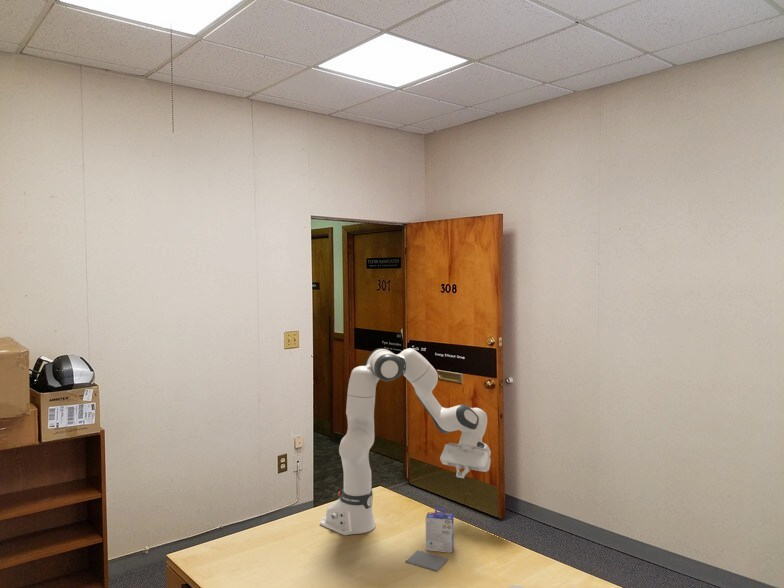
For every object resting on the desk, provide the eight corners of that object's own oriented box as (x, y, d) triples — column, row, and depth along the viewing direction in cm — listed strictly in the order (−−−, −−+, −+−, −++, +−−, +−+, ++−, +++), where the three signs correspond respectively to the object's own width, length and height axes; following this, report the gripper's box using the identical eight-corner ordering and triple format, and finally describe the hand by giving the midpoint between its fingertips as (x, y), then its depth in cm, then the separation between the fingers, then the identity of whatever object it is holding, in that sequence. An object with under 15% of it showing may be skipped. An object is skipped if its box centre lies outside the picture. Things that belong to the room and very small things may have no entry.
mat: (405, 562, 191) (405, 560, 191) (417, 551, 199) (417, 549, 199) (436, 571, 185) (436, 570, 185) (448, 559, 193) (448, 558, 193)
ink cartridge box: (454, 546, 203) (454, 507, 202) (452, 553, 197) (452, 513, 197) (427, 543, 205) (427, 505, 204) (425, 550, 199) (425, 511, 199)
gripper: (443, 438, 228) (433, 468, 219) (491, 445, 217) (482, 477, 209) (448, 446, 232) (438, 476, 223) (494, 453, 221) (486, 485, 213)
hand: (459, 477), depth 216 cm, fingers closed
